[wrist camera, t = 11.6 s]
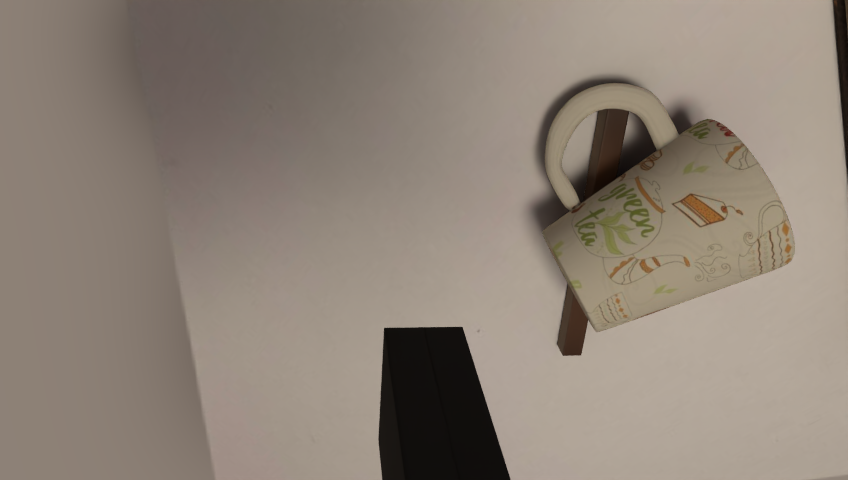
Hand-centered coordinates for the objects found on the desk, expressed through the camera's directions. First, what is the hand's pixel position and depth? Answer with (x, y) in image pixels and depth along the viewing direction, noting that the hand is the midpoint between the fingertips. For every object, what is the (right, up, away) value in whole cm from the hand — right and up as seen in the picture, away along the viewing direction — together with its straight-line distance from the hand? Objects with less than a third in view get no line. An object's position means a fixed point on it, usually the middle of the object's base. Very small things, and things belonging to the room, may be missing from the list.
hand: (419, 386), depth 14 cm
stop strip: (+10, +4, +27) cm, 29 cm away
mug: (+7, +2, +23) cm, 24 cm away
